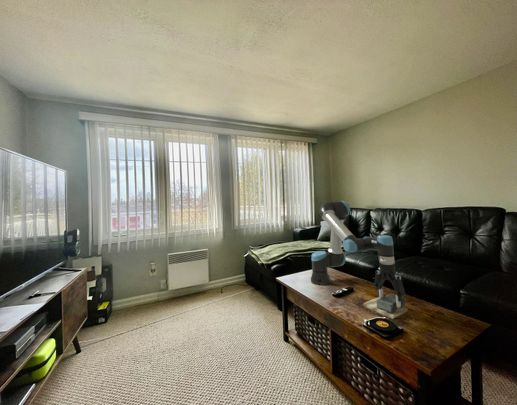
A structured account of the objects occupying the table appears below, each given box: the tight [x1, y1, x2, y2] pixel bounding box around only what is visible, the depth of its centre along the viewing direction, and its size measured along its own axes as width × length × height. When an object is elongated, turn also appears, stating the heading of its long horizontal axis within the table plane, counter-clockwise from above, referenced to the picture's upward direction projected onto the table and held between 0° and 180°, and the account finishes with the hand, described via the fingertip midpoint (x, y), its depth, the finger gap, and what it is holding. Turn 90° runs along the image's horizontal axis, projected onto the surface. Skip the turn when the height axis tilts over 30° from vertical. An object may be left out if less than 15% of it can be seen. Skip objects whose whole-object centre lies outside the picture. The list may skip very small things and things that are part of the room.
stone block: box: [377, 292, 406, 314], centre depth 118 cm, size 9×14×5 cm, turn 119°
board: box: [362, 297, 409, 320], centre depth 119 cm, size 17×14×2 cm
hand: (389, 303), depth 116 cm, fingers open, 9 cm apart
